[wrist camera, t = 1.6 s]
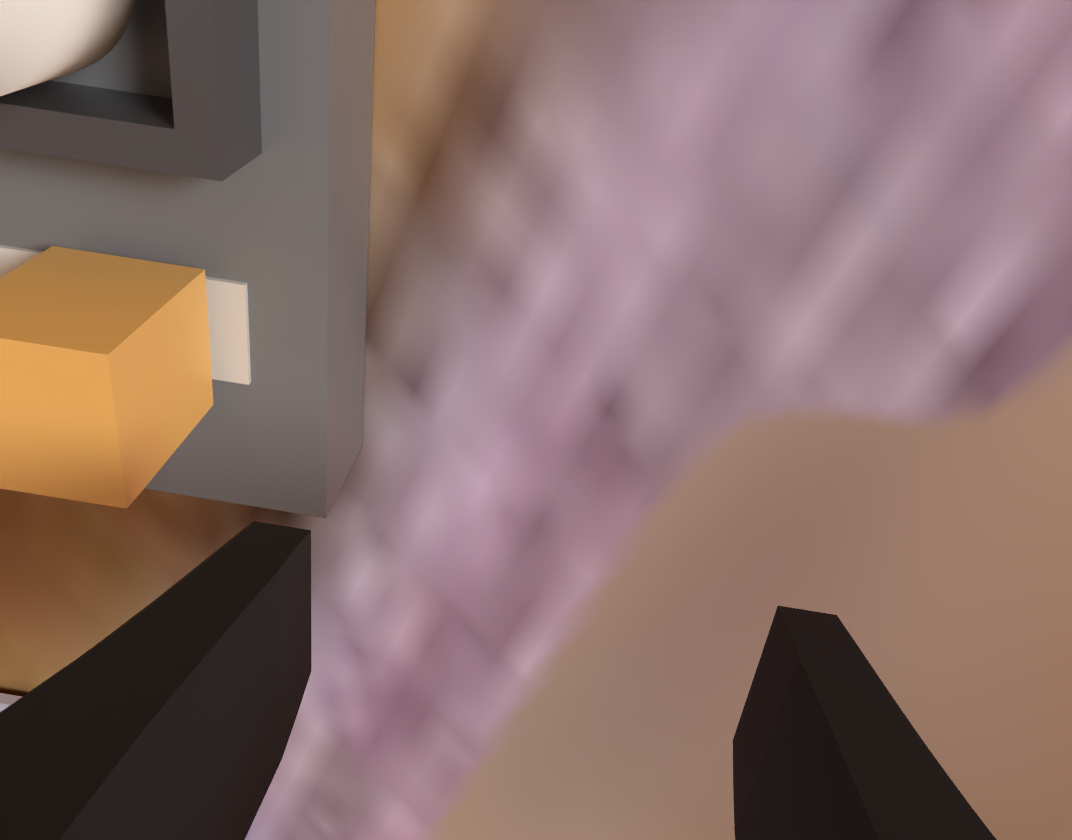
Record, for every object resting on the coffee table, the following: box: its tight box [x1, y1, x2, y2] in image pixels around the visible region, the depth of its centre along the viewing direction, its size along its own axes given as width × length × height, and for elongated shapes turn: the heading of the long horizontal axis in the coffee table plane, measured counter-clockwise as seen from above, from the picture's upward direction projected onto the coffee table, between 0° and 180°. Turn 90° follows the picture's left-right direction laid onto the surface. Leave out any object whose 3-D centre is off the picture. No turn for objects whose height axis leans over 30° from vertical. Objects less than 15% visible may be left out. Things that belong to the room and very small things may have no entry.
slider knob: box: [0, 246, 213, 509], centre depth 14 cm, size 2×2×3 cm
